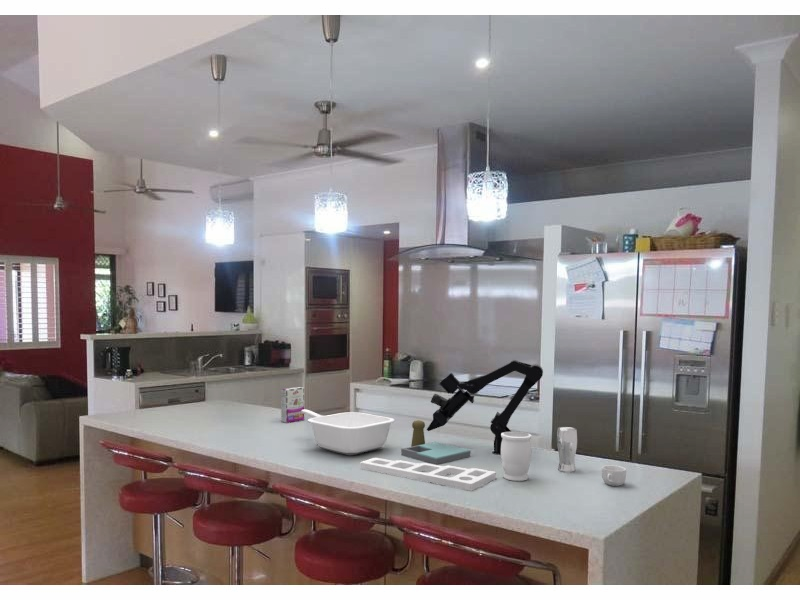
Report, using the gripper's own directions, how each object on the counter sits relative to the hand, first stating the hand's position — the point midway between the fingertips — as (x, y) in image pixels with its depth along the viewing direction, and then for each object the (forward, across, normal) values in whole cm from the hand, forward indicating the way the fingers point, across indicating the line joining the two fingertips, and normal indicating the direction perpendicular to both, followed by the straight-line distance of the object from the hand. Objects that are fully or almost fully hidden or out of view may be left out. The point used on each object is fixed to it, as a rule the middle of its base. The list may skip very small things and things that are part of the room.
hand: (429, 428), depth 259 cm
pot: (+32, +8, -20) cm, 39 cm away
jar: (-20, +34, +32) cm, 51 cm away
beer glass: (-32, +19, +45) cm, 58 cm away
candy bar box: (+60, -38, -49) cm, 86 cm away
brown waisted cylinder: (+9, 0, +2) cm, 10 cm away
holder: (+2, +37, +11) cm, 39 cm away
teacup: (-42, +34, +55) cm, 77 cm away
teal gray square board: (+3, +12, +9) cm, 15 cm away
